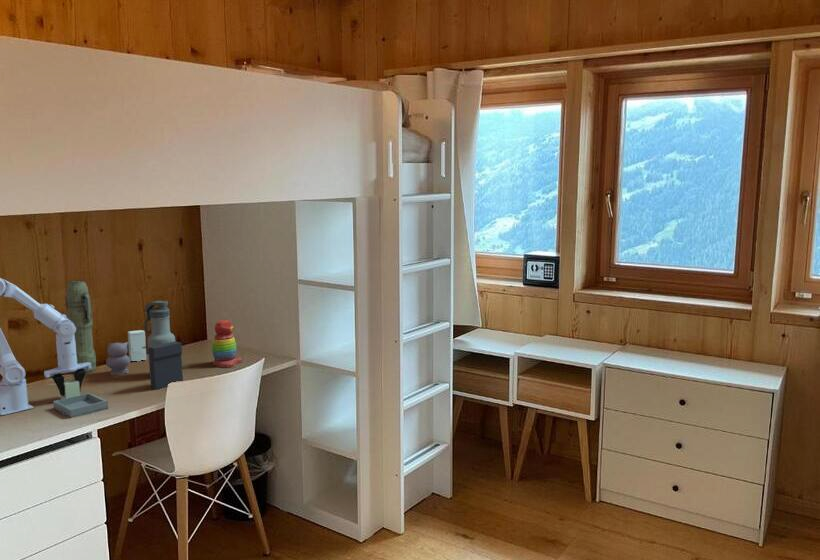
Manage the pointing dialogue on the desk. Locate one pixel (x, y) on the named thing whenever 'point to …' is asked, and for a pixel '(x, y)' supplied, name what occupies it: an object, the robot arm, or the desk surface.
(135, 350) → the skincare box
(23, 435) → the desk surface
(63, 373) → the robot arm
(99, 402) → the bin
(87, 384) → the desk surface
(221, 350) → the stacking bear
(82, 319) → the thermos
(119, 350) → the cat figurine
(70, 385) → the block
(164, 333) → the water bottle
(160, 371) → the dark gray box
